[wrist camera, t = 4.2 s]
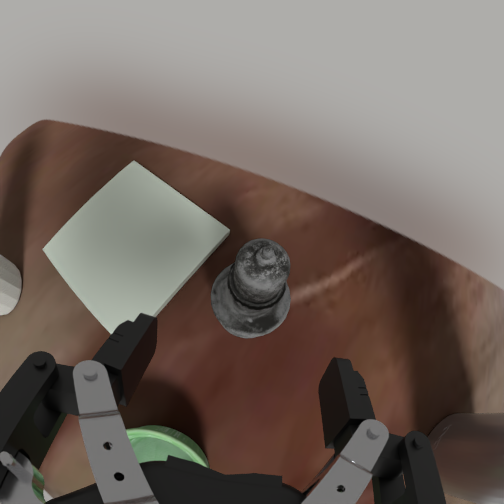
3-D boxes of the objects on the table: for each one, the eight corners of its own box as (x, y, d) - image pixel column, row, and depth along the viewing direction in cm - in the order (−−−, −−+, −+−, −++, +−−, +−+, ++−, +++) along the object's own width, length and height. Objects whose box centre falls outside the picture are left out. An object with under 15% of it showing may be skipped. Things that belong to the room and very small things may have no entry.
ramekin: (204, 516, 15) (201, 540, 11) (107, 483, 15) (89, 499, 11) (227, 437, 19) (227, 451, 15) (124, 403, 19) (104, 409, 15)
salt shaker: (236, 262, 25) (247, 177, 14) (293, 297, 24) (347, 235, 13) (199, 317, 23) (176, 266, 12) (258, 354, 22) (293, 339, 11)
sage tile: (229, 233, 26) (230, 229, 26) (128, 349, 21) (124, 348, 20) (135, 164, 29) (133, 160, 28) (46, 252, 23) (42, 249, 23)
